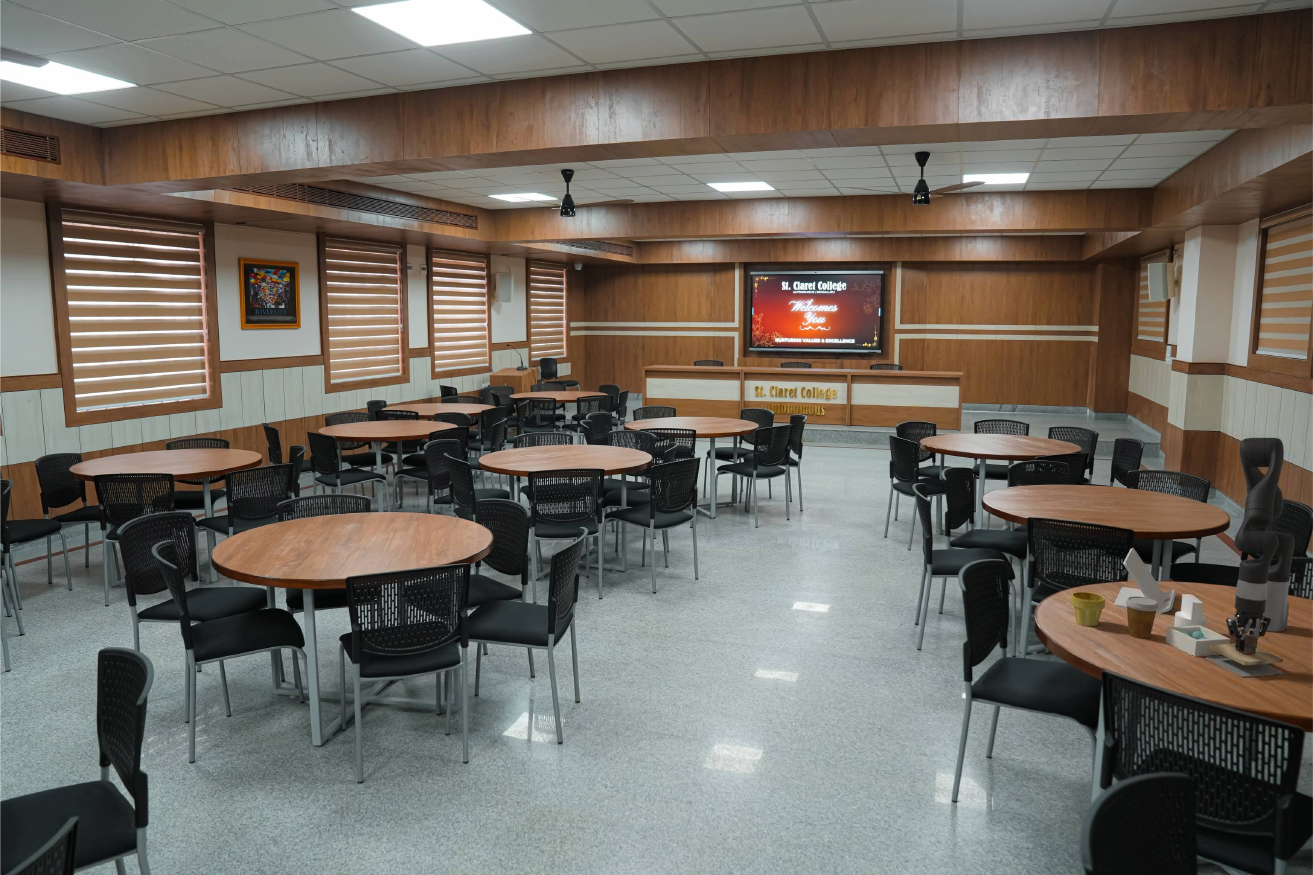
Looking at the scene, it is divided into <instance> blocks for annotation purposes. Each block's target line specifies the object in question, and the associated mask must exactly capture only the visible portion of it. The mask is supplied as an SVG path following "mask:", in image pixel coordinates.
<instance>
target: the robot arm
mask: <svg viewBox="0 0 1313 875" xmlns="http://www.w3.org/2000/svg"><path fill="white" fill-rule="evenodd" d="M1238 449H1239V450H1238V451H1239V459H1240V461H1241V462H1240V463H1241V466H1242V470H1243V474H1244V477H1245V484H1246V493H1247V496H1246V498H1245V503H1244V516H1243V520H1242V521H1241V525H1240V527H1239V529H1238V530H1237V533H1236V534H1235V536H1234V537H1235V538H1234V547H1235V548H1236V549H1237V550H1238V551H1239V552H1242V553H1248V554H1249V553H1250V554H1255V555H1257V556H1258V557H1259V558H1253V559H1244V560H1241V562H1240V563H1239V568H1238V569H1239V570H1238V580H1237V584H1236V586H1235V587H1236V589H1235V590H1236V591H1235V600H1234V609H1235V610H1236V611H1235V614H1234V617H1232V618H1228V617H1227V618H1226V619H1225V622H1226V626H1227V629H1228V634H1229V636H1231V637H1234V638H1235V643H1234V644H1235V648H1236V650H1238V651H1240V652H1242V651H1244V643H1245V640H1244V639H1245V636H1246V634H1249V635H1251V636H1253V637H1256V638H1257V641H1259V640H1258V639H1260V637H1265V635H1266V633H1267V632H1278V633H1279V632H1283V631H1285V630H1287V629H1288V622H1289V621H1288V620H1289V610H1290V601H1288V597H1289V596H1288V595H1289V586H1290V580H1291V579H1290V578H1291V570H1292V569H1291V568H1292V562H1293V557H1294V552H1295V545H1296V544H1295V540H1296V539H1295V537H1294V536H1293V534H1291V533H1287V532H1280V531H1273V530H1268V529H1267V528H1268V527H1270V526H1271V525H1272V524H1273V522H1274V521H1275V520H1277V519H1278V518H1279V516H1280V515H1281V514H1282V513H1283V510H1284V508H1285V507H1284V506H1285V505H1284V499H1283V498H1284V497H1283V493H1282V489H1281V488H1280V487H1279V485H1278V484H1279V481H1280V477H1281V473H1282V472H1281V471H1282V468H1283V464H1284V456H1285V455H1284V454H1285V453H1284V452H1285V448H1284V443H1283V440H1281V438H1279V437H1246V438H1244V439H1242V440H1241V442H1240V444H1239V448H1238ZM1260 468H1267V472H1266V473H1265V474H1264V473H1263V472H1262V471H1261V469H1260ZM1272 560H1277V561H1278V562H1277V563H1275V564H1273V565H1270V564H1271V562H1272ZM1240 634H1241V635H1240ZM1256 648H1258V643H1257V644H1256Z"/></svg>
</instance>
